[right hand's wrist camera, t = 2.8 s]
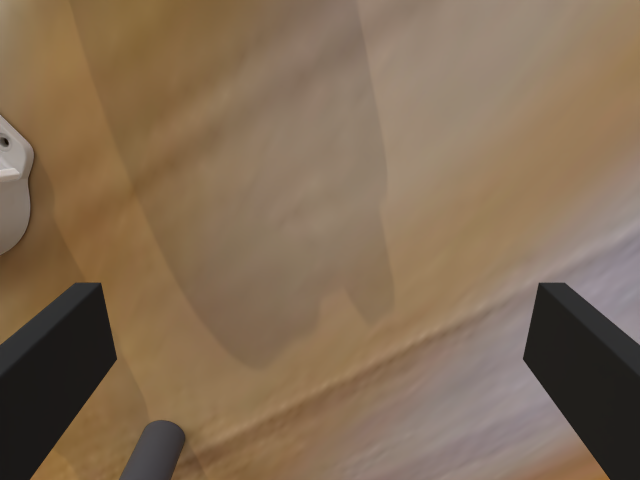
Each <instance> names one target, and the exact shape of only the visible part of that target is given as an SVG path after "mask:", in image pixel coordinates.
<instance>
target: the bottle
mask: <svg viewBox="0 0 640 480" xmlns="http://www.w3.org/2000/svg"><path fill="white" fill-rule="evenodd" d="M184 442H185V435H184V432H183V431H182V429H181V428H180V427H179V426H177V425H176V424H174V423H172V422H169V421H163V420H160V421H154V422H152V423H150V424H148V425H147V426H146V427H145V429H144V431H143V433H142V435H141V437H140V439H139V441H138V443H137V445H136V447H135V449H134V451H133V453H132V455H131V457H130V459H129V461H128V463H127V465H126V467H125V469H124V471H123V473H122V475H121V477H120V479H119V480H171V477H172V474H173V472H174V469H175V466H176V464H177V461H178V458H179V456H180V453H181V450H182V448H183V445H184Z"/></svg>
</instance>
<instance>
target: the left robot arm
mask: <svg viewBox="0 0 640 480" xmlns="http://www.w3.org/2000/svg"><path fill="white" fill-rule="evenodd" d="M5 138H6V139H7V140H8V142H9V145H7V144H6V143H5ZM33 160H34V152H33V149H32V147H31V145H30V144H29V143H28V141H27V140H26V139H24V138H23V137H22V136H21V135H20V134H19V133H18V132H17V131H16V130H15V129H14V128H13V127H12V126H11V125H10V124H9V123H8V122H7V121H6V120H5V119H4V118H3V117H2V116H1V115H0V255H1V254H3V253H5V252H7V251H9V250H10V249H11V248H13V247H14V246H15V245H16V244H17V243H18V242H19V240H20V239H21V238H22V236H23V235H24V233H25V231H26V228H27V226H28V222H29V217H30V196H29V189H28V177H29V174H30V171H31V168H32V164H33Z"/></svg>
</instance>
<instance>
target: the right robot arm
mask: <svg viewBox="0 0 640 480" xmlns="http://www.w3.org/2000/svg"><path fill="white" fill-rule="evenodd" d="M116 360H117V356H116V352H115V347H114V342H113V337H112V333H111V328H110V323H109V318H108V314H107V309H106V304H105V299H104V295H103V290H102V285H101V283H75V284H73V285H72V286H71V287H70V288H69V289H67V290H66V291H65V292H64V293H63V294H61V295H60V296H59V297H58V298H57V299H55V300H54V301H53V302H52V303H50V304H49V305H48V306H47V307H46V308H44V309H43V310H42V311H41V312H40V313H38V314H37V315H36V316H35V317H34V318H32V319H31V320H30V321H29V322H28V323H26V324H25V325H24V326H23V327H22V328H20V329H19V330H18V331H17V332H16V333H14V334H13V335H12V336H11V337H10V338H8V339H7V340H6V341H5V342H4V343H2V344H1V345H0V480H30V479H31V477H32V476H33V474H34V473H35V472H36V470H37V469H38V468H39V466H40V465H41V463H42V462H43V461H44V459H45V458H46V457H47V455H48V454H49V452H50V451H51V450H52V448H53V447H54V445H55V444H56V443H57V441H58V440H59V439H60V437H61V436H62V434H63V433H64V432H65V430H66V429H67V428H68V426H69V425H70V423H71V422H72V421H73V419H74V418H75V417H76V415H77V414H78V412H79V411H80V410H81V408H82V407H83V405H84V404H85V403H86V401H87V400H88V399H89V397H90V396H91V394H92V393H93V392H94V390H95V389H96V388H97V386H98V385H99V383H100V382H101V381H102V379H103V378H104V377H105V375H106V374H107V372H108V371H109V370H110V368H111V367H112V365H113V364H114V363H115V361H116ZM523 360H524V361H525V363H526V364H527V365H528V367H529V368H530V370H531V371H532V372H533V374H534V375H535V377H536V378H537V379H538V381H539V382H540V383H541V385H542V386H543V388H544V389H545V390H546V392H547V393H548V394H549V396H550V397H551V399H552V400H553V401H554V403H555V404H556V405H557V407H558V408H559V410H560V411H561V412H562V414H563V415H564V417H565V418H566V419H567V421H568V422H569V423H570V425H571V426H572V428H573V429H574V430H575V432H576V433H577V434H578V436H579V437H580V439H581V440H582V441H583V443H584V444H585V445H586V447H587V448H588V450H589V451H590V452H591V454H592V455H593V457H594V458H595V459H596V461H597V462H598V463H599V465H600V466H601V468H602V469H603V470H604V472H605V473H606V474H607V476H608V477H609V479H610V480H640V345H639V344H638V343H636V342H635V341H634V340H633V339H632V338H630V337H629V336H628V335H627V334H626V333H624V332H623V331H622V330H621V329H620V328H618V327H617V326H616V325H615V324H614V323H612V322H611V321H610V320H609V319H608V318H606V317H605V316H604V315H603V314H602V313H600V312H599V311H598V310H597V309H596V308H594V307H593V306H592V305H591V304H589V303H588V302H587V301H586V300H585V299H583V298H582V297H581V296H580V295H579V294H577V293H576V292H575V291H574V290H573V289H571V288H570V287H569V286H568V285H567V284H565V283H539V285H538V290H537V295H536V299H535V304H534V309H533V314H532V318H531V323H530V328H529V333H528V337H527V342H526V347H525V352H524V356H523Z"/></svg>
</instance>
